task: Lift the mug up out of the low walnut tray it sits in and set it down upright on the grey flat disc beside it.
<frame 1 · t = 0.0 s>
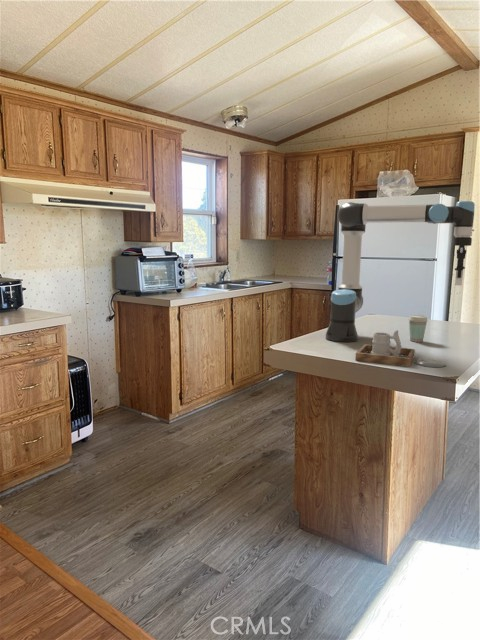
hand: (458, 284, 218), 28 cm above the countertop, fingers open, 13 cm apart
walnut tray: (385, 358, 194), on the countertop
mug: (385, 358, 194), resting in walnut tray
grey flat disc: (430, 363, 186), on the countertop
coffee cup: (416, 341, 229), on the countertop
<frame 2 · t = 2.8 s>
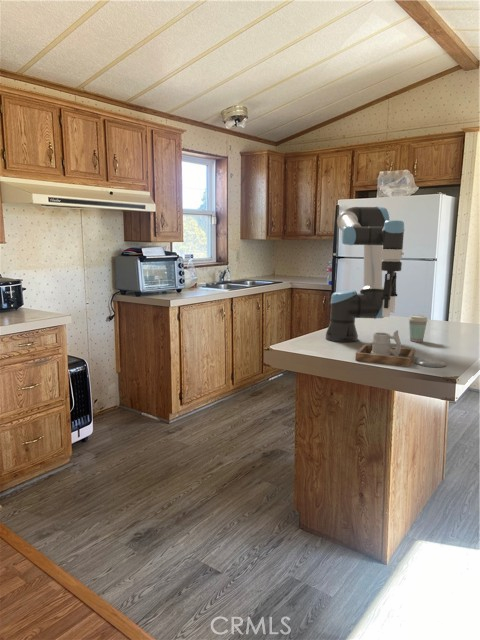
hand: (388, 314, 191), 18 cm above the countertop, fingers open, 13 cm apart
nothing on the countertop moved.
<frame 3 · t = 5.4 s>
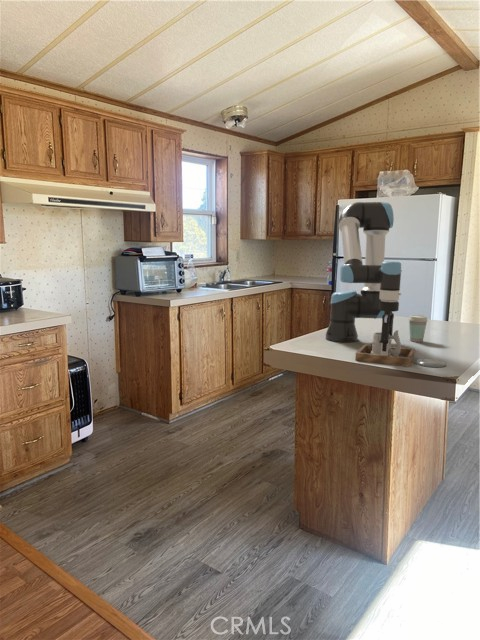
hand: (385, 356, 194), 1 cm above the countertop, fingers closed on mug, 7 cm apart
mug: (385, 358, 194), resting in walnut tray, touching gripper
everything else where it was.
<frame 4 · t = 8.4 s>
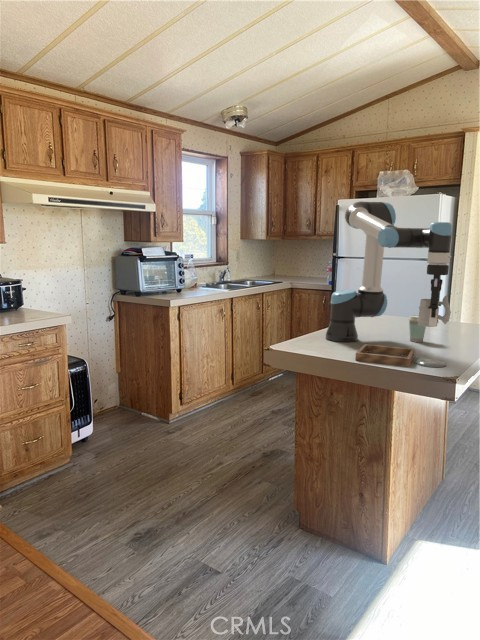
hand: (433, 324, 184), 16 cm above the countertop, fingers closed on mug, 7 cm apart
mug: (432, 326, 184), point 15 cm above the countertop, touching gripper
everything else where it was.
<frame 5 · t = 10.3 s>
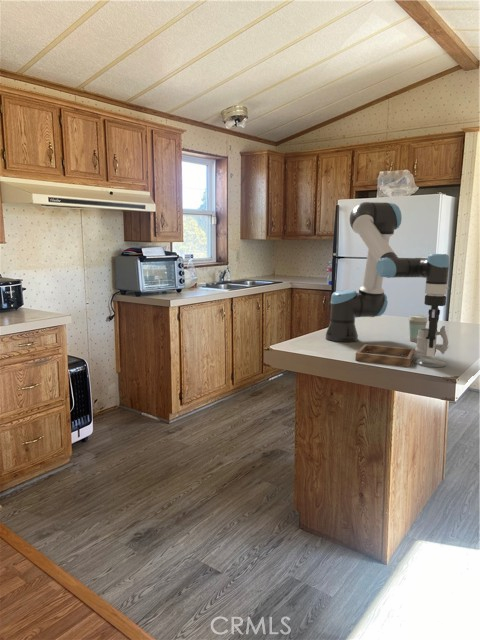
hand: (431, 353, 186), 4 cm above the countertop, fingers closed on mug, 7 cm apart
mug: (430, 355, 185), point 3 cm above the countertop, touching gripper
everything else where it was.
when the fingers open (3 cm above the countertop, at t = 11.4 s): mug drops 2 cm, resting on grey flat disc.
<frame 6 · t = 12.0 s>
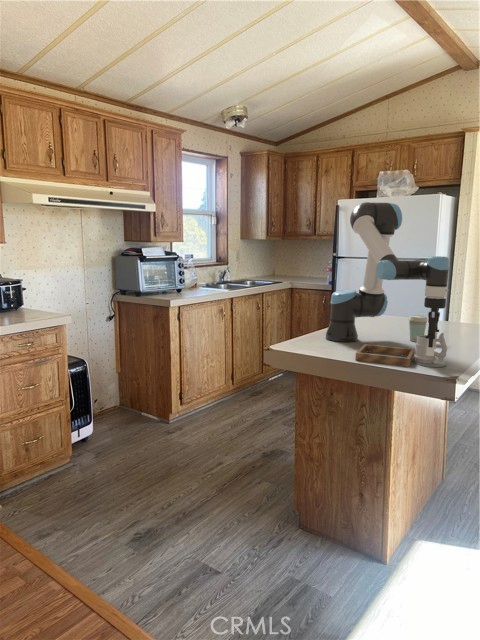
hand: (431, 351, 185), 5 cm above the countertop, fingers open, 13 cm apart
mug: (429, 362, 186), resting on grey flat disc
everything else where it was.
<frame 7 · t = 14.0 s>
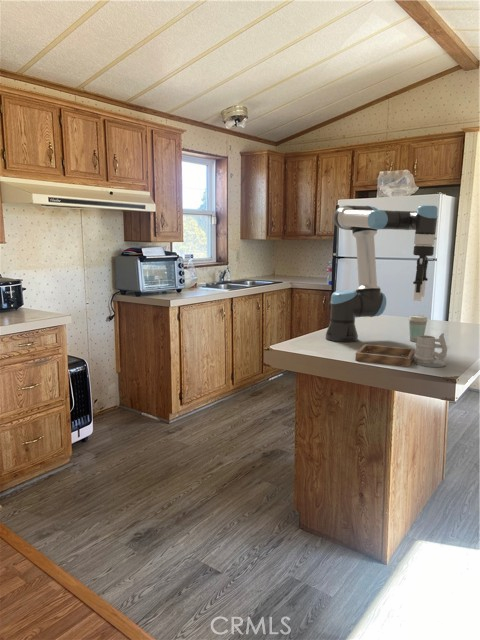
hand: (418, 298, 194), 24 cm above the countertop, fingers open, 13 cm apart
nothing on the countertop moved.
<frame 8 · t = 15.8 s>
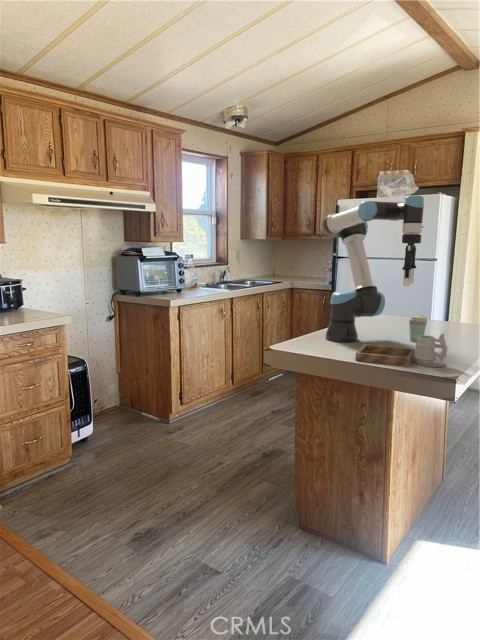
hand: (408, 284, 204), 29 cm above the countertop, fingers open, 13 cm apart
nothing on the countertop moved.
at the end: mug 0.2 cm from the grey flat disc (horizontally); mug tilted 0°; mug resting on grey flat disc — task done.
